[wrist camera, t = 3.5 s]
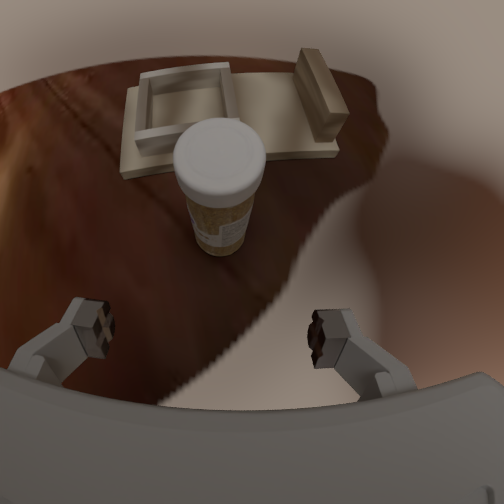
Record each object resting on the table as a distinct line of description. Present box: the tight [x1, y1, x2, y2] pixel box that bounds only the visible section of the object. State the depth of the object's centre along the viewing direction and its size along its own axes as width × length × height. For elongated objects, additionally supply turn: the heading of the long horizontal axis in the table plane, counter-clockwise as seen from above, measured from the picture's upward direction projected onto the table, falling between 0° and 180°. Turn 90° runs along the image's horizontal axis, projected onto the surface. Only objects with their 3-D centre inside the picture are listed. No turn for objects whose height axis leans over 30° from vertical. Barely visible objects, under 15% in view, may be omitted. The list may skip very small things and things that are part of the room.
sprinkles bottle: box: [173, 118, 266, 256], centre depth 19 cm, size 5×5×13 cm
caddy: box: [120, 48, 350, 180], centre depth 26 cm, size 22×12×6 cm, turn 99°
